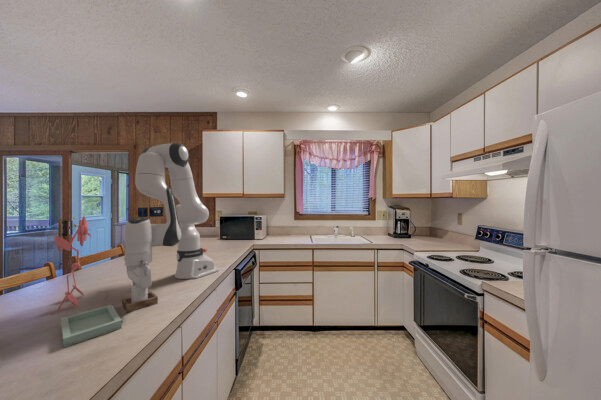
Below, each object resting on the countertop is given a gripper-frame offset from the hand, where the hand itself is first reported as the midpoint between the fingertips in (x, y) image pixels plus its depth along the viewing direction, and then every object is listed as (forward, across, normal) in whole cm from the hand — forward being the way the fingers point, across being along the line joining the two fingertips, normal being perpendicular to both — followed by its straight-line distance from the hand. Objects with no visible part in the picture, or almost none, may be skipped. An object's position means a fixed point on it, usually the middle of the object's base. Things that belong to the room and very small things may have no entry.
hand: (139, 293), depth 90 cm
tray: (+4, -7, +15) cm, 17 cm away
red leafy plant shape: (+4, +22, +14) cm, 26 cm away
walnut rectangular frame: (+4, 0, 0) cm, 4 cm away
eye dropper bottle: (+4, 0, 0) cm, 4 cm away
